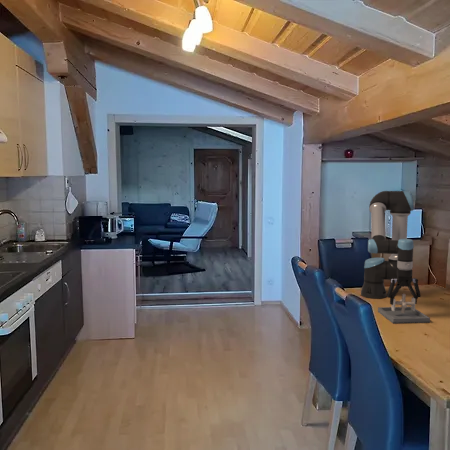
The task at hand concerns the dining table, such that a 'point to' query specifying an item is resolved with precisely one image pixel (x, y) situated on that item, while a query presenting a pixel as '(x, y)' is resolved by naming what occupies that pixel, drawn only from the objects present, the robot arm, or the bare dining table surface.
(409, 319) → the tray
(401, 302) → the pipe connector
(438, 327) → the dining table surface
